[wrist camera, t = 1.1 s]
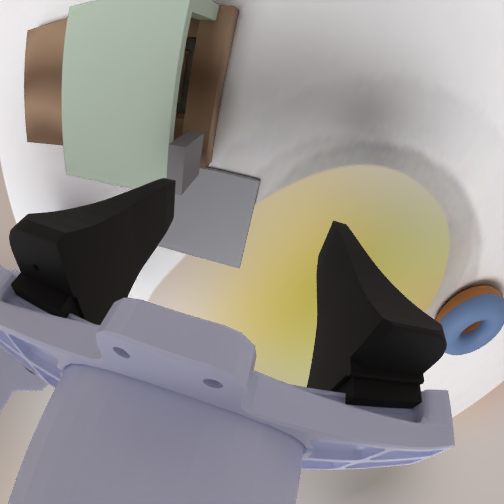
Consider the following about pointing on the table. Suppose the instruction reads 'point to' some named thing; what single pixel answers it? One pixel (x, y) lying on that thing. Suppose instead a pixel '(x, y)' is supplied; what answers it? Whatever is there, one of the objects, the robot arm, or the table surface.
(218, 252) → the mat
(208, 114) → the board
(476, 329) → the doughnut
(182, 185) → the cover
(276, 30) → the table surface
